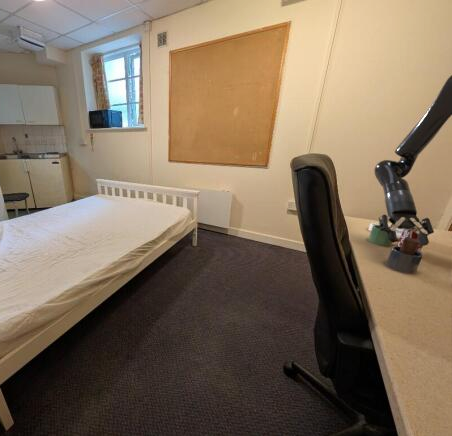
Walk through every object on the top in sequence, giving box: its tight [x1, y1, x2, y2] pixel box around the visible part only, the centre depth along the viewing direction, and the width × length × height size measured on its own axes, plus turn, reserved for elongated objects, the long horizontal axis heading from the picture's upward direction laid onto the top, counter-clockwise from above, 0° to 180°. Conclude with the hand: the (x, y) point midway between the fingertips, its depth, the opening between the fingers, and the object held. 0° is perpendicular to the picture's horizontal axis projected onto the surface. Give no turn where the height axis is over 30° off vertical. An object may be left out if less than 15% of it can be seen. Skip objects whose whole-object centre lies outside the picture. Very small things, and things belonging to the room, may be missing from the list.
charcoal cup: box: [385, 245, 424, 275], centre depth 80 cm, size 8×8×7 cm
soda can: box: [396, 226, 429, 252], centre depth 90 cm, size 7×7×12 cm
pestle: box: [399, 238, 420, 256], centre depth 79 cm, size 4×4×11 cm
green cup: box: [367, 225, 397, 247], centre depth 100 cm, size 8×8×7 cm
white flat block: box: [368, 222, 404, 241], centre depth 108 cm, size 3×18×15 cm
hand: (409, 243), depth 79 cm, fingers open, 8 cm apart
